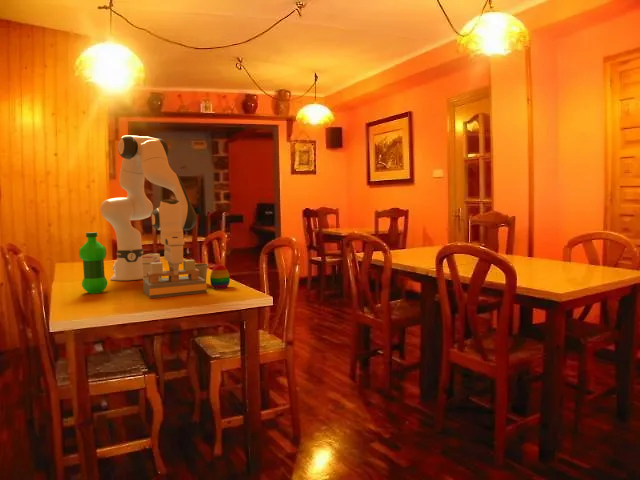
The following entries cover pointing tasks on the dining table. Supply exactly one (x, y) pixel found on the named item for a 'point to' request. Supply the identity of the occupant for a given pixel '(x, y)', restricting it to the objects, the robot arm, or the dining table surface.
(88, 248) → the plastic bottle
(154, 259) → the syrup box
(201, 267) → the flower pot
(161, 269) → the block
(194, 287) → the dock
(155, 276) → the pallet
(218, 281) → the decorative egg
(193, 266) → the crate
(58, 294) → the dining table surface
